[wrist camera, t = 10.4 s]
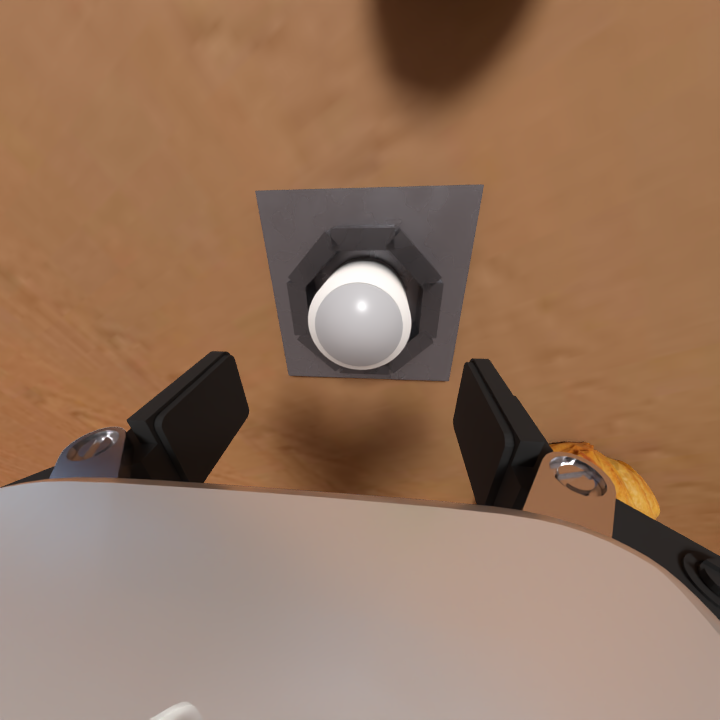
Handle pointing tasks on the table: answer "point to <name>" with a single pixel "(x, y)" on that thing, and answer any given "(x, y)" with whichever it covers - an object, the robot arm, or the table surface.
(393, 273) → the cap
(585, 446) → the croissant
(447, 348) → the octagonal hole plate
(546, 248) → the table surface
